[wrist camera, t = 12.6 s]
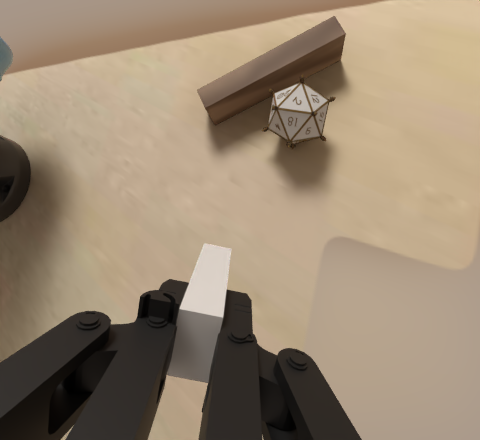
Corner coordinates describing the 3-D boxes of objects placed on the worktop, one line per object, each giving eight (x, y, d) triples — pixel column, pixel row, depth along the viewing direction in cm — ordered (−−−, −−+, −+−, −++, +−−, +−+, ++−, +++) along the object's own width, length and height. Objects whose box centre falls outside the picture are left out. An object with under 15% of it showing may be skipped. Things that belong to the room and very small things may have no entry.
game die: (287, 148, 47) (240, 140, 40) (299, 89, 45) (251, 69, 38) (340, 157, 41) (294, 148, 34) (356, 88, 39) (311, 65, 32)
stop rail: (207, 109, 46) (196, 90, 42) (330, 43, 44) (334, 15, 39) (215, 125, 46) (205, 107, 41) (340, 59, 44) (345, 33, 39)
